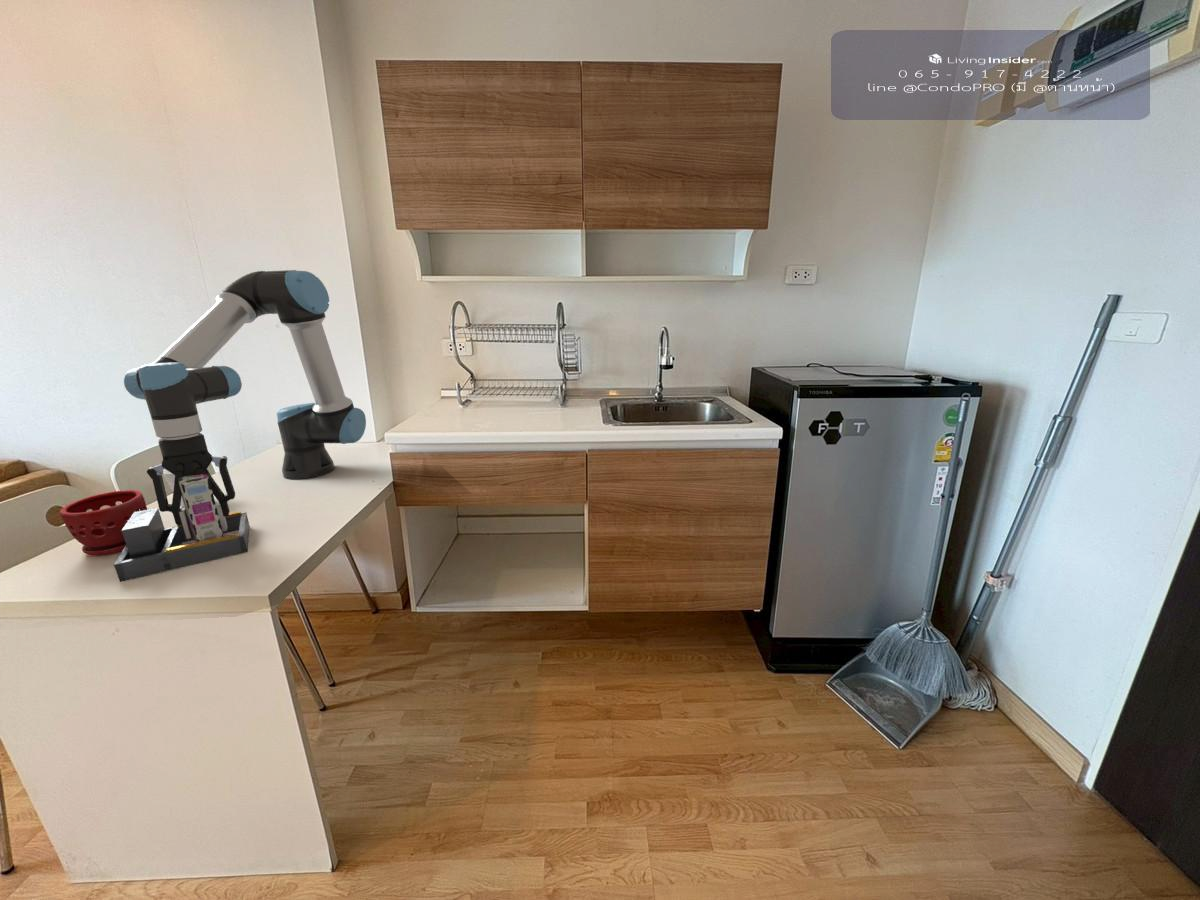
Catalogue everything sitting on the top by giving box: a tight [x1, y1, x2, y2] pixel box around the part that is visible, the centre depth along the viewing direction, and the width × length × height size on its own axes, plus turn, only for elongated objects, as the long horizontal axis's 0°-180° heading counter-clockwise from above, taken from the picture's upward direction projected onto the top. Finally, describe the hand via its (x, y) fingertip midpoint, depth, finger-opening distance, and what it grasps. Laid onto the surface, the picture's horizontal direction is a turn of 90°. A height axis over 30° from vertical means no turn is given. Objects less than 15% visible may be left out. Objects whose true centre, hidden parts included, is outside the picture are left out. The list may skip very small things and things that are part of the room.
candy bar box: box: [178, 474, 225, 542], centre depth 105 cm, size 11×5×16 cm, turn 46°
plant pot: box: [59, 489, 148, 557], centre depth 106 cm, size 13×13×12 cm
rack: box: [113, 507, 251, 583], centre depth 104 cm, size 21×16×10 cm
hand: (207, 532), depth 107 cm, fingers closed on candy bar box, 6 cm apart
